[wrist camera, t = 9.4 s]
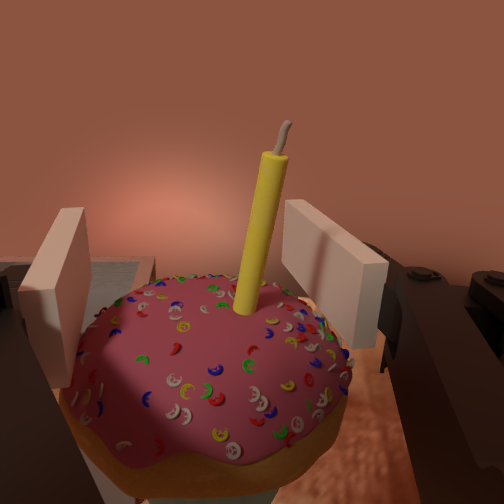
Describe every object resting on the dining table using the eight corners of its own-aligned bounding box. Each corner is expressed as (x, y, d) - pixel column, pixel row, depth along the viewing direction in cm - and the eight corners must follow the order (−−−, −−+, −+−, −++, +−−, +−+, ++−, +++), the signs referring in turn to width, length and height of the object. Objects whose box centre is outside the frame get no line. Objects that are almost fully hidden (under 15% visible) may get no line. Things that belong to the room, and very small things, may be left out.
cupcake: (352, 425, 17) (400, 115, 13) (292, 677, 10) (357, 152, 5) (168, 371, 20) (155, 101, 16) (15, 536, 13) (-92, 113, 8)
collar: (156, 286, 33) (155, 256, 32) (128, 417, 20) (125, 373, 19) (-39, 288, 31) (-46, 256, 30) (-206, 432, 18) (-228, 385, 17)
